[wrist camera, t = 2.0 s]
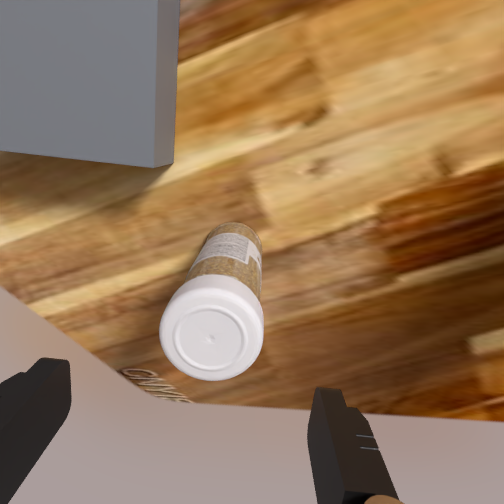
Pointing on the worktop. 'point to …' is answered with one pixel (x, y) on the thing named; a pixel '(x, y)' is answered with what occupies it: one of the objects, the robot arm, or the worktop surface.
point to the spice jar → (217, 308)
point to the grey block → (89, 79)
